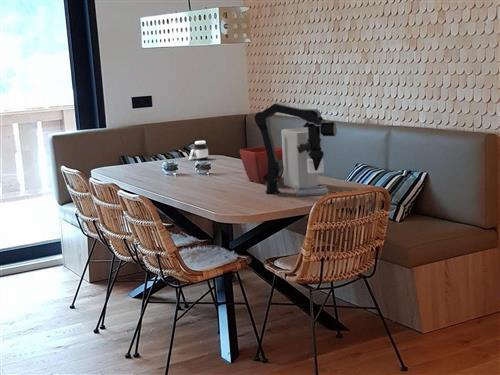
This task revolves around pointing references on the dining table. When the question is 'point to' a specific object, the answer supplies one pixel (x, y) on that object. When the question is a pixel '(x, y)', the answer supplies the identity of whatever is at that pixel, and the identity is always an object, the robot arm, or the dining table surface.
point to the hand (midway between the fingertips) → (315, 169)
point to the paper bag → (296, 160)
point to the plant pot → (258, 162)
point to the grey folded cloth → (310, 190)
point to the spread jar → (199, 151)
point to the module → (312, 169)
